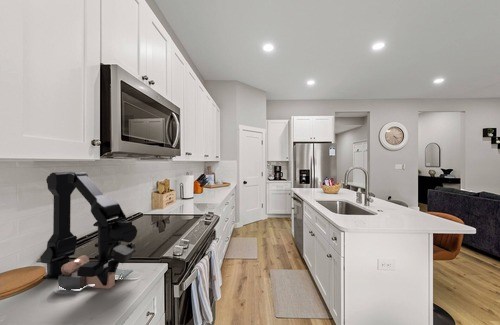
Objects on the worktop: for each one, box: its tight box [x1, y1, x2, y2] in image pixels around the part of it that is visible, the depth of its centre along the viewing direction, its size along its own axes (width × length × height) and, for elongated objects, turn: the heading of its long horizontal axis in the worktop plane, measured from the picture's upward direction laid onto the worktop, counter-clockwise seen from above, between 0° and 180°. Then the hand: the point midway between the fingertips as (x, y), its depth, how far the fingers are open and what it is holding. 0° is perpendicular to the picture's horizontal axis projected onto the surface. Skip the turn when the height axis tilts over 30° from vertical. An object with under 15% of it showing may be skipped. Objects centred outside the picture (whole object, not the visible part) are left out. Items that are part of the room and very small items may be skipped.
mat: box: [115, 268, 134, 282], centre depth 83 cm, size 13×7×1 cm, turn 84°
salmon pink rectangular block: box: [86, 272, 116, 289], centre depth 76 cm, size 10×2×4 cm, turn 83°
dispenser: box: [57, 254, 90, 290], centre depth 77 cm, size 8×8×9 cm
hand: (108, 283), depth 76 cm, fingers closed on salmon pink rectangular block, 2 cm apart
